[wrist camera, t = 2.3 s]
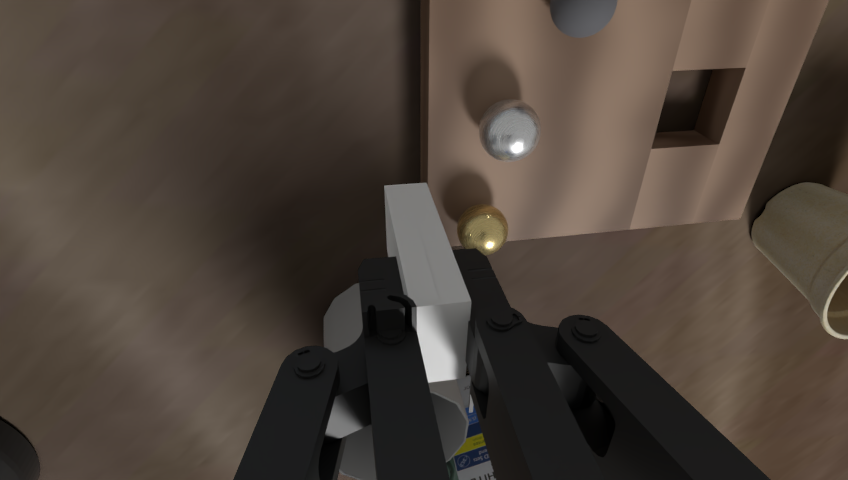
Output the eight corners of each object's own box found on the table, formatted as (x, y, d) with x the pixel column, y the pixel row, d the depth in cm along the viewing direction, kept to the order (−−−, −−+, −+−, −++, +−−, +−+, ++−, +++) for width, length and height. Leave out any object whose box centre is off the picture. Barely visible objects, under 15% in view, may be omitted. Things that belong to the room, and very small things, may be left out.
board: (420, 228, 33) (427, 248, 31) (420, -51, 24) (430, -48, 22) (716, 201, 36) (740, 219, 34) (809, -52, 28) (849, -49, 25)
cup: (353, 263, 33) (365, 374, 25) (455, 297, 37) (494, 406, 28) (305, 349, 37) (302, 472, 29) (402, 373, 40) (424, 490, 32)
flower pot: (865, 200, 39) (988, 263, 32) (765, 283, 42) (856, 357, 35) (814, 136, 35) (943, 192, 28) (708, 234, 38) (798, 307, 31)
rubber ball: (536, 32, 25) (560, 44, 22) (544, -36, 23) (571, -31, 21) (592, 30, 25) (621, 42, 23) (603, -37, 24) (637, -32, 21)
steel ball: (470, 150, 28) (486, 174, 25) (473, 93, 26) (491, 112, 23) (524, 146, 28) (546, 169, 26) (531, 90, 26) (555, 108, 24)
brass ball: (450, 240, 31) (462, 267, 28) (452, 197, 29) (465, 222, 27) (497, 235, 31) (512, 262, 29) (501, 193, 30) (518, 218, 27)
